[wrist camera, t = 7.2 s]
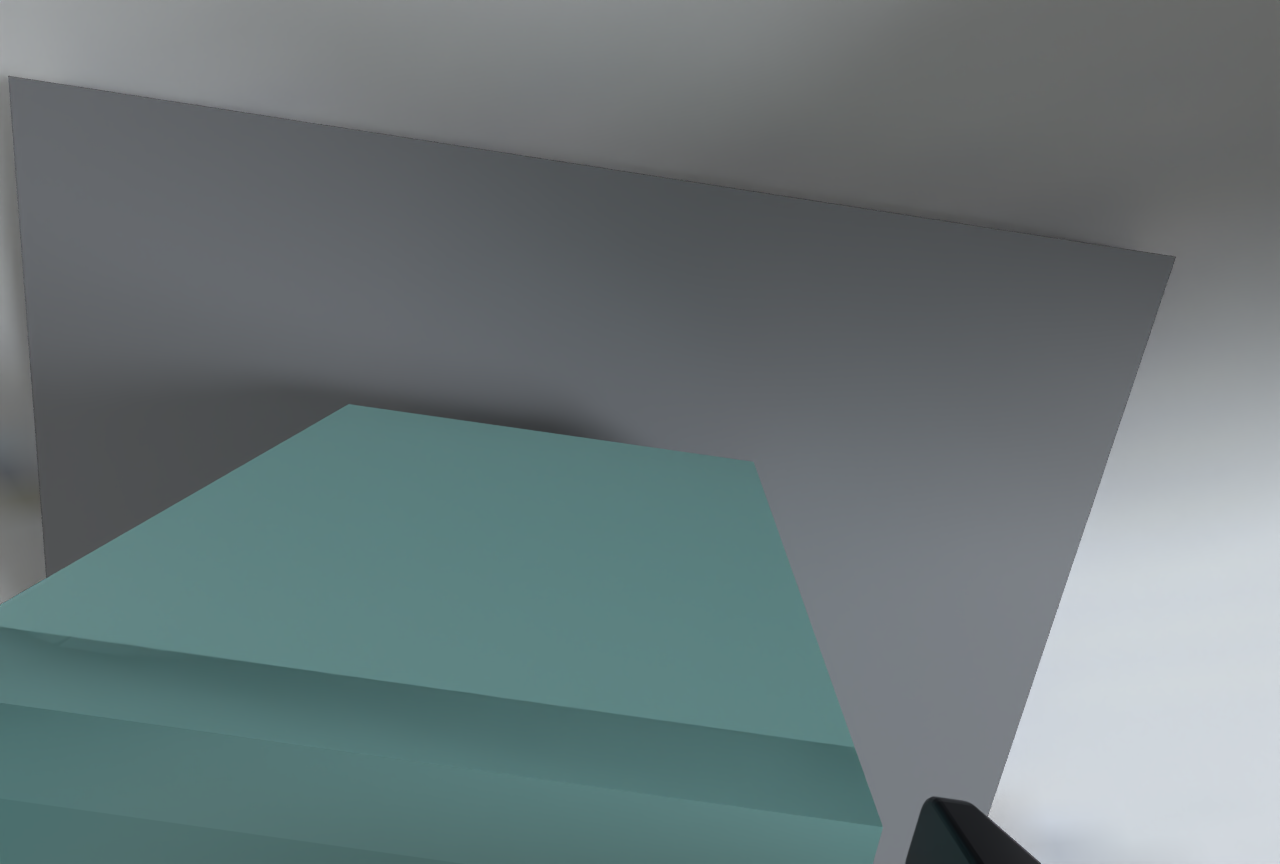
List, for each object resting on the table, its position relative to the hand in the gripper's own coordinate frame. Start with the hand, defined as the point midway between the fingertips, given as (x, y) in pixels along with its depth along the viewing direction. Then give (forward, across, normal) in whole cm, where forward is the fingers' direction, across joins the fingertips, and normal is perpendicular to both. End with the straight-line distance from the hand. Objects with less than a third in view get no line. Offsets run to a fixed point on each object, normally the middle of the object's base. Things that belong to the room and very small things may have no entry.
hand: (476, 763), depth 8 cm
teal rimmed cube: (+3, 0, 0) cm, 3 cm away
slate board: (+5, 0, +7) cm, 9 cm away
